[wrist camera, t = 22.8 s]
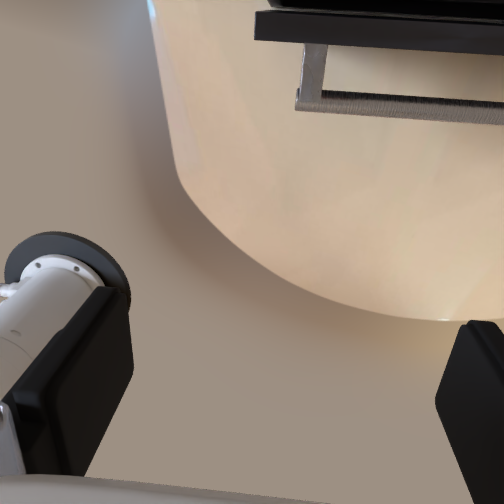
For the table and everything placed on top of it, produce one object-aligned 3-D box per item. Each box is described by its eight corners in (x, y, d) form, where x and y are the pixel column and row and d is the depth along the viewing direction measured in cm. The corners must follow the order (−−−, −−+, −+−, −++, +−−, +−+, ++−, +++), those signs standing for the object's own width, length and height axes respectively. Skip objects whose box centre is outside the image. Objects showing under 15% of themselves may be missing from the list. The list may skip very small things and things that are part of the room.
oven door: (514, 95, 42) (635, 144, 27) (266, 78, 44) (250, 116, 29) (540, 25, 39) (694, 36, 24) (270, 9, 40) (255, 11, 25)
